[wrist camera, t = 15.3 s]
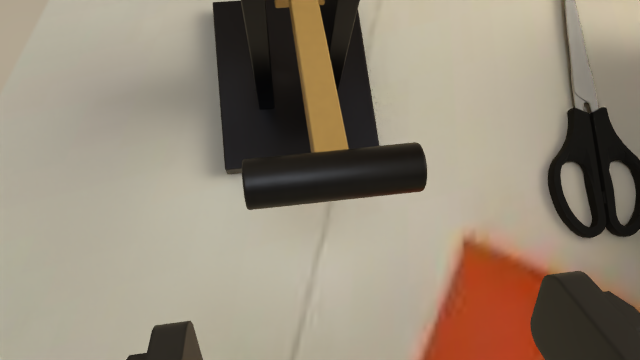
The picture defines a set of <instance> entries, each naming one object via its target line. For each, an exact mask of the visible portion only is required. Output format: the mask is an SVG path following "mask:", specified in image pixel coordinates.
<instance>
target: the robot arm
mask: <svg viewBox="0 0 640 360" xmlns="http://www.w3.org/2000/svg"><path fill="white" fill-rule="evenodd" d="M531 332H532V336H533V339H534V342H535V344H536V346H537V348H538V349H539V351H540V352H541V354H542V355H543V357H544V358H545V360H640V313H639V312H638V311H637V310H636V309H635V308H634V307H633V306H631V305H630V304H628V303H627V302H625V301H624V300H622V299H620V298H619V297H617V296H616V295H614V294H613V293H611V292H610V291H606V292H602V290H601V289H600V288H599V287H598V286H597V285H596V284H595V283H594V282H593V281H592V279H591V278H590V277H589V276H588V275H587V274H585V273H583V272H581V271H574V272H567V273H559V274H552V275H547V276H545V277H544V278H543V280H542V283H541V287H540V290H539V294H538V297H537V300H536V304H535V307H534V311H533V314H532V318H531ZM126 360H203V358H202V355H201V351H200V348H199V344H198V341H197V337H196V334H195V330H194V327H193V324H192V322H191V321H185V322H178V323H170V324H163V325H156V326H154V328H153V330H152V333H151V337H150V342H149V346H148V351H147V353H143V354H135V355H129V357H128V358H127V359H126Z"/></svg>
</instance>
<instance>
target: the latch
mask: <svg viewBox="0 0 640 360" xmlns="http://www.w3.org/2000/svg"><path fill="white" fill-rule="evenodd" d="M274 2H275V7H276V8H285V7H289V9H290V16H291V22H292V29H293V36H294V42H295V49H296V55H297V62H298V69H299V75H300V82H301V89H302V95H303V102H304V108H305V115H306V122H307V128H308V135H309V142H310V148H311V153H302V154H292V155H282V156H272V157H261V158H251V159H244V160H243V161H242V179H243V189H244V196H245V202H246V207H247V209H249V210H253V209H262V208H272V207H281V206H290V205H299V204H309V203H318V202H327V201H337V200H346V199H355V198H365V197H374V196H383V195H393V194H402V193H411V192H420V191H422V190H424V188H425V186H426V181H427V165H426V159H425V155H424V152H423V149H422V147H421V145H420V144H419V143H405V144H395V145H385V146H374V147H364V148H354V149H349V148H348V143H347V138H346V134H345V129H344V124H343V119H342V114H341V109H340V104H339V99H338V94H337V89H336V84H335V80H334V75H333V70H332V65H331V60H330V55H329V50H328V45H327V40H326V35H325V31H324V26H323V21H322V16H321V11H320V6H319V5H324V3H325V0H274Z"/></svg>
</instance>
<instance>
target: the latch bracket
mask: <svg viewBox="0 0 640 360" xmlns="http://www.w3.org/2000/svg"><path fill="white" fill-rule="evenodd" d="M359 1H360V0H325V3H324V5H319V6H320V11H321V16H322V21H323V26H324V31H325V35H326V40H327V45H328V50H329V55H330V60H331V65H332V70H333V75H334V80H335V84H336V89H337V94H338V99H339V104H340V109H341V114H342V119H343V124H344V129H345V134H346V138H347V143H348V148H349V149H354V148H364V147H374V146H379V140H378V134H377V128H376V121H375V115H374V109H373V102H372V96H371V89H370V83H369V77H368V70H367V64H366V58H365V51H364V45H363V38H362V32H361V26H360V19H359V13H358V5H359ZM213 14H214V28H215V41H216V54H217V67H218V81H219V94H220V107H221V120H222V134H223V147H224V160H225V170H226V171H227V173H228V174H235V173H242V161H243V160H244V159H251V158H261V157H272V156H282V155H292V154H302V153H311V148H310V142H309V135H308V128H307V122H306V115H305V108H304V102H303V95H302V89H301V82H300V75H299V69H298V62H297V55H296V49H295V42H294V36H293V29H292V22H291V16H290V9H289V7H285V8H276V7H275V2H274V0H241V1H228V2H214V3H213Z"/></svg>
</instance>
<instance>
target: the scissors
mask: <svg viewBox="0 0 640 360" xmlns="http://www.w3.org/2000/svg"><path fill="white" fill-rule="evenodd" d="M565 14H566V26H567V36H568V44H569V53H570V64H571V82H572V91H573V98H574V105H575V108H573V109H570V110H569V111H568V113H567V115H568V130H567V136H566V139H565V142H564V144H563V146H562V148H561V150H560V151H559V153H558V154H557V156H556V157H555V158H554V160H553V161H552V163H551V165H550V168H549V171H548V186H549V191H550V195H551V198H552V201H553V204H554V207H555V209H556V211H557V213H558V214H559V216H560V218H561V219H562V221H563V222H564V223H565V224H566V225H567V226H568V228H569V229H570V230H571V231H573V232H574V233H575V234H577V235H579V236H581V237H586V238H593V237H595V236H597V235H599V234H601V233H602V231H603V230H604V229H605V227H606V228H607V230H609V231H610V232H611V233H612V234H615V235H617V236H623V237H626V236H631V235H633V234H635V233H636V232H637V231H638V230H639V229H640V160H639V159H638V157H637V156H636V155H634V154H633V153H632V152H631V151H630V150H629V149H628V148H627V147H626V146H625V145H624V144H623V142H622V141H621V140H620V138H619V137H618V136H617V134H616V132H615V131H614V129H613V127H612V124H611V122H610V119H609V116H608V112H607V109H606V108H605V107H602V108H599V107H598V101H597V96H596V90H595V85H594V80H593V75H592V71H591V70H590V66H589V61H588V57H587V52H586V47H585V42H584V37H583V32H582V27H581V23H580V19H579V14H578V10H577V6H576V3H575V0H565ZM585 102H587V103H588V104H589V106H590V110H591V113H587V112H585V111H584V106H583V104H584V103H585ZM614 160H619V161H622V162H624V163H625V164H626V165H627V166H628V167H629V169H630V170H631V173H632V176H633V179H634V182H635V188H636V202H635V208H634V212H633V215H632V217H631V219H630V221H629V222H628V223H627V224H626V225H625V226H623V225H621V224H620V222H619V220H618V218H617V215H616V206H615V197H614V189H613V184H612V180H611V175H610V172H609V167H610V163H611V162H612V161H614ZM569 161H574V162H577V163H578V164H580V165H581V167H582V169H583V171H584V180H585V186H586V192H587V196H588V201H589V206H590V210H591V215H592V223H591V226H590V227H587V226H585V225H583V224H582V223H581V222H580V221H579V220H578V219H577V218H576V217H575V215H574V214H573V213H572V211H571V210H570V208H569V206H568V204H567V202H566V199H565V197H564V194H563V190H562V186H561V177H560V174H561V167H562V165H563V164H564V163H566V162H569Z"/></svg>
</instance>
